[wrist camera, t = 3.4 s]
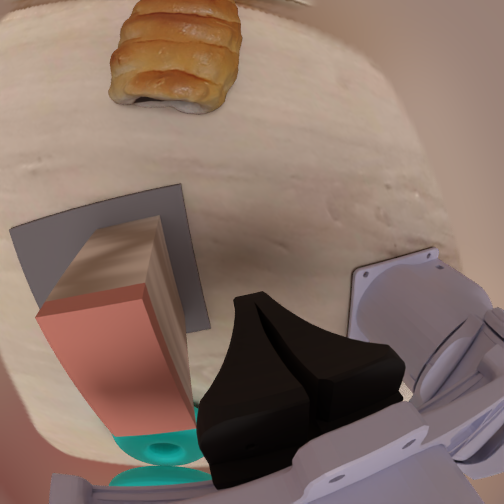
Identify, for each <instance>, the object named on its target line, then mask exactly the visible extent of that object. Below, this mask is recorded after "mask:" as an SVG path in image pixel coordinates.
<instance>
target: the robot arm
mask: <svg viewBox="0 0 504 504" xmlns="http://www.w3.org/2000/svg"><path fill="white" fill-rule="evenodd" d="M438 255H439V250H438V248H436V247H433V248H429V249H426V250H423V251H419V252H416V253H412V254H409V255H405V256H402V257H398V258H395V259H391V260H387V261H384V262H380V263H376V264H373V265H369V266H365V267H361V268H358V269H356V270H355V271H354V273H353V282H352V296H351V308H350V318H349V328H348V337H344V336H340V335H337V334H334V333H331V332H329V331H326V330H324V329H321V328H319V327H317V326H315V325H312V324H310V323H308V322H307V321H305V320H303V319H301V318H300V317H298V316H296V315H295V314H293V313H292V312H290V311H289V310H287V309H286V308H284V307H283V306H282V305H280V304H279V303H277V302H276V301H275V300H274V299H272V298H271V297H270V296H269V295H267V294H266V293H265V292H263V291H262V292H257V293H253V294H248V295H244V296H239V297H235V299H234V300H233V301H234V307H235V320H234V328H233V333H232V338H231V342H230V345H229V349H228V352H227V355H226V357H225V360H224V362H223V364H222V367H221V369H220V371H219V373H218V374H217V376H216V378H215V380H214V382H213V383H212V385H211V387H210V388H209V390H208V391H207V392H206V394H205V395H204V397H203V398H202V399H201V401H200V404H199V409H198V414H197V422H196V434H197V440H198V445H199V449H200V450H201V452H202V454H203V455H204V457H205V459H206V460H207V462H208V463H209V467H210V471H211V477H212V480H208V481H201V482H193V483H184V484H173V485H159V486H97V485H91V484H90V483H89V482H88V481H87V480H86V479H84V478H82V477H79V476H75V475H66V474H56V473H53V474H52V479H51V487H50V497H49V504H485V503H484V502H483V501H482V499H481V498H480V496H479V495H478V494H477V492H476V491H475V489H474V488H473V486H472V485H471V484H470V482H469V481H468V480H467V478H466V477H465V475H464V474H466V475H467V476H469V477H470V478H472V479H473V480H474V479H480V478H485V477H488V476H492V475H495V474H499V473H502V472H504V310H503V309H501V308H499V307H497V308H494V309H493V307H492V303H491V301H490V299H489V297H488V295H487V294H486V292H485V291H484V290H483V288H482V287H480V286H479V285H478V284H477V283H475V282H474V281H472V280H471V279H469V278H468V277H466V276H465V275H463V274H462V273H460V272H458V271H457V270H455V269H454V268H452V267H451V266H449V265H447V264H446V263H444V262H443V261H441V260H439V259H438ZM365 272H366V273H365ZM364 273H365V275H364ZM402 381H403V382H404V383H405V384H406V386H407V387H408V388H409V389H410V390H411V392H412V393H413V396H412V398H411V399H410V400H409V402H407V401H403V396H402V395H401V394H400V392H399V388H400V385H401V383H402ZM401 401H402V402H401ZM463 473H464V474H463Z"/></svg>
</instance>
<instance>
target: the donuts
mask: <svg viewBox="0 0 504 504" xmlns="http://www.w3.org/2000/svg"><path fill="white" fill-rule="evenodd" d="M194 412H195V419H196V422H197V414H198V408H196V407H194ZM112 435H113V434H112ZM113 438H114V440H115V442H116V443H117V444H118V446H119V447H120V448H121V449H122V450H123V451H124V452H125V453H127V454H128V455H130V456H131V457H133V458H135V459H137V460H140V461H142V462H145V463H149V464H153V465H160V466H145V467H138V468H134V469H130V470H127V471H125V472H122V473H120V474H118V475H117V476H116V477H114V478H113V479H112V481H111V482H110V484H109V486H159V485H173V484H184V483H193V482H201V481H208V480H212V477H211V475H210V474H208V473H205V472H202V471H199V470H195V469H190V468H185V467H177V465H184V464H188V463H191V462H194V461H196V460H199V459H200V458H202V457H204V455H203V454H202V452H201V450H200V449H199V445H198V440H197V434H196V429H190V430H183V431H176V432H168V433H159V434H149V435H137V436H121V437H115V436H114V435H113Z"/></svg>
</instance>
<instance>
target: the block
mask: <svg viewBox="0 0 504 504" xmlns="http://www.w3.org/2000/svg"><path fill="white" fill-rule="evenodd" d="M35 318H36V320H37V322H38V324H39V326H40V328H41V330H42V332H43V334H44V335H45V337H46V339H47V341H48V343H49V344H50V346H51V348H52V349H53V351H54V353H55V355H56V356H57V358H58V360H59V361H60V363H61V364H62V366H63V368H64V369H65V371H66V372H67V374H68V375H69V377H70V378H71V380H72V381H73V383H74V384H75V386H76V387H77V389H78V390H79V391H80V393H81V394H82V396H83V397H84V398H85V400H86V401H87V403H88V404H89V405H90V407H91V408H92V409H93V410H94V412H95V413H96V414H97V416H98V417H99V418H100V419H101V421H102V422H103V423H104V424H105V426H106V427H107V428H108V429H109V430H110V432H111V433H112V434H113V435H114V436H115V437H121V436H137V435H149V434H159V433H168V432H176V431H183V430H190V429H196V419H195V412H194V404H193V396H192V388H191V379H190V370H189V360H188V349H187V338H186V325H185V315H184V311H183V308H182V304H181V300H180V297H179V293H178V290H177V286H176V282H175V278H174V274H173V270H172V266H171V262H170V258H169V254H168V250H167V246H166V242H165V237H164V233H163V229H162V224H161V219H160V215H158V216H154V217H149V218H144V219H140V220H135V221H131V222H126V223H122V224H118V225H113V226H109V227H105V228H101V229H97V230H95V232H94V233H93V234H92V236H91V237H90V238H89V239H88V241H87V242H86V243H85V245H84V246H83V247H82V249H81V250H80V251H79V253H78V254H77V255H76V257H75V258H74V260H73V261H72V262H71V264H70V265H69V266H68V268H67V269H66V271H65V272H64V274H63V275H62V277H61V278H60V279H59V281H58V282H57V284H56V285H55V287H54V288H53V290H52V291H51V293H50V295H49V296H48V298H47V299H46V301H45V302H44V304H43V306H42V307H41V309H40V310H39V312H38V314H37V315H36V317H35Z"/></svg>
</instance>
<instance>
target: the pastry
mask: <svg viewBox="0 0 504 504" xmlns="http://www.w3.org/2000/svg"><path fill="white" fill-rule="evenodd" d="M120 38H121V39H120V41H119V44H118V49H116V50H115V51H114V52H113V54H112V56H111V59H110V67H111V74H112V79H111V86H110V89H109V91H108V93H109V96H110V98H111V99H112V100H113V101H114V102H115V103H117V104H134V105H136V106H140V107H148V108H152V107H174V108H176V109H177V110H179V111H181V112H184V113H195V114H204V113H208V112H211V111H213V110H215V109H217V108H219V107H220V106H221V105H222V104H223V103H224V102H225V97H226V94H227V92H228V90H229V89H230V87H231V86H232V85H233V83H234V82H235V80H236V78H237V73H238V64H239V50H240V46H241V42H242V35H241V23H240V19H239V17H238V8H237V6H236V5H235V2H234V0H140V1H139V2H138V3H137V4H136V5H135V7H134V8H133V11H132V14H131V16H130V18H129V19H127V20H126V21H125V22H124V23H123V26H122V28H121V32H120Z"/></svg>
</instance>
